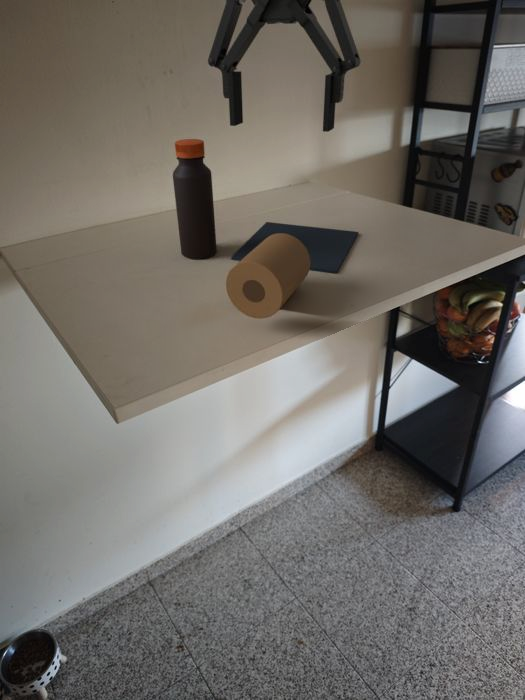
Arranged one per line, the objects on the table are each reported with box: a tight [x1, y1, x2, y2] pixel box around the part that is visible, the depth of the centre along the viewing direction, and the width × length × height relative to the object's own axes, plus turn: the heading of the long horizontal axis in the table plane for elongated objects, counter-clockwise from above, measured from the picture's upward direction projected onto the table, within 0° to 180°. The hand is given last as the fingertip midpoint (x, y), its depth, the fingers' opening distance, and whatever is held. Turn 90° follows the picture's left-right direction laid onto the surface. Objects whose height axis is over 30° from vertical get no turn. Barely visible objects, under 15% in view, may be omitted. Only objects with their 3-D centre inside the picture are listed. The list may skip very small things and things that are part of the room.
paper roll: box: [225, 233, 311, 320], centre depth 76 cm, size 12×9×9 cm
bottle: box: [172, 138, 218, 260], centre depth 90 cm, size 7×7×20 cm
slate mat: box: [230, 221, 359, 275], centre depth 97 cm, size 20×20×1 cm
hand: (281, 127), depth 69 cm, fingers open, 13 cm apart
